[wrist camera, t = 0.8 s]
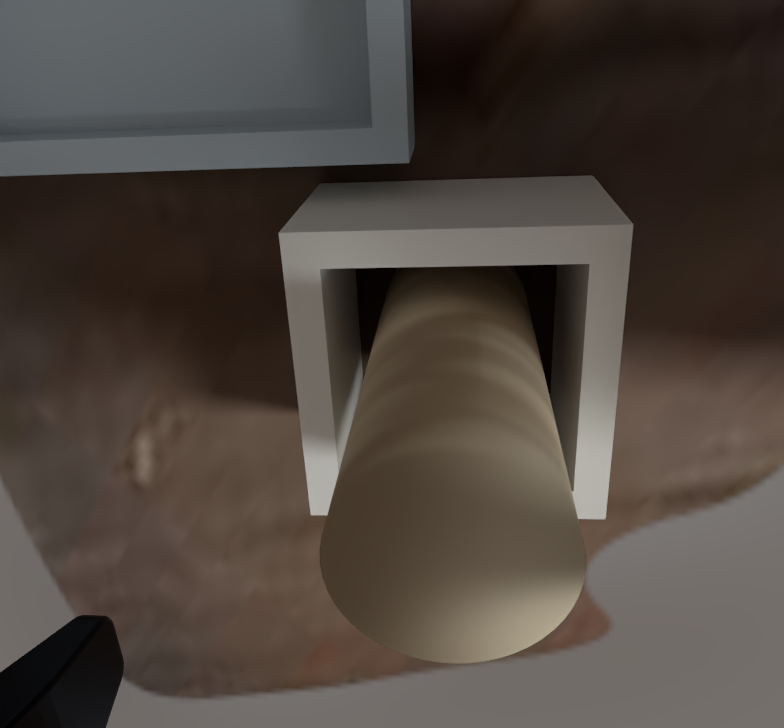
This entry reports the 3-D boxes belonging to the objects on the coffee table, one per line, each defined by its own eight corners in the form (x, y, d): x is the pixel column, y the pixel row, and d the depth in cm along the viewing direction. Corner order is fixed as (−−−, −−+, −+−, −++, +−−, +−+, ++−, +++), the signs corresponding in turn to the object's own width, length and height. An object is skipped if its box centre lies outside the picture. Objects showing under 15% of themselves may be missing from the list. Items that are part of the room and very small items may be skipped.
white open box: (592, 175, 19) (633, 224, 15) (576, 416, 22) (605, 519, 18) (320, 183, 20) (278, 232, 15) (340, 416, 23) (310, 515, 18)
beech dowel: (528, 236, 20) (595, 454, 10) (523, 369, 22) (577, 667, 12) (381, 239, 20) (307, 452, 10) (389, 369, 22) (330, 659, 12)
